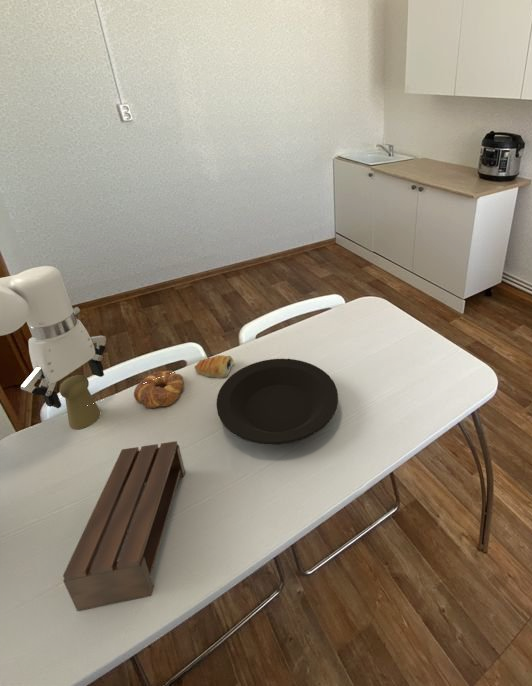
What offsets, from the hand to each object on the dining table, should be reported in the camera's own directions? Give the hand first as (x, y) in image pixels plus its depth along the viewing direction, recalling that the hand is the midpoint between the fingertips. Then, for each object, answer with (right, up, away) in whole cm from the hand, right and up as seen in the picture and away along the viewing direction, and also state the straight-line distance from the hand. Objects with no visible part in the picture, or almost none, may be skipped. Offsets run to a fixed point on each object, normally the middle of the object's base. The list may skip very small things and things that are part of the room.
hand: (78, 389), depth 85 cm
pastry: (+25, -2, +17) cm, 30 cm away
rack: (+25, -16, -20) cm, 36 cm away
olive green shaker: (0, -8, +2) cm, 8 cm away
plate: (+44, -7, +3) cm, 45 cm away
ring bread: (+14, -5, +9) cm, 18 cm away
